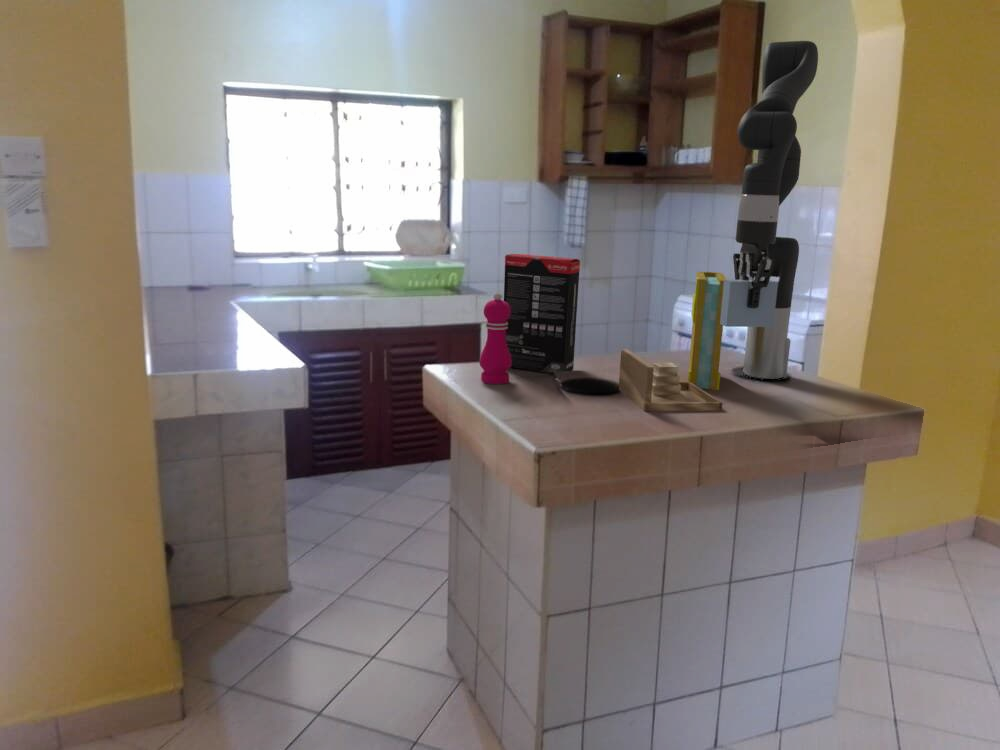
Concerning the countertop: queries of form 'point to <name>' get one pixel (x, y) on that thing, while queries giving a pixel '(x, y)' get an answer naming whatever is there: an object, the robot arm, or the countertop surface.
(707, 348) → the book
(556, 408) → the countertop surface
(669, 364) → the offcut top
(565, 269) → the graphics card box
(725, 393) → the countertop surface
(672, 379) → the offcut middle
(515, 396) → the countertop surface
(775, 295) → the block
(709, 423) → the countertop surface
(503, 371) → the pepper mill
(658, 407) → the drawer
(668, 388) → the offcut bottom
